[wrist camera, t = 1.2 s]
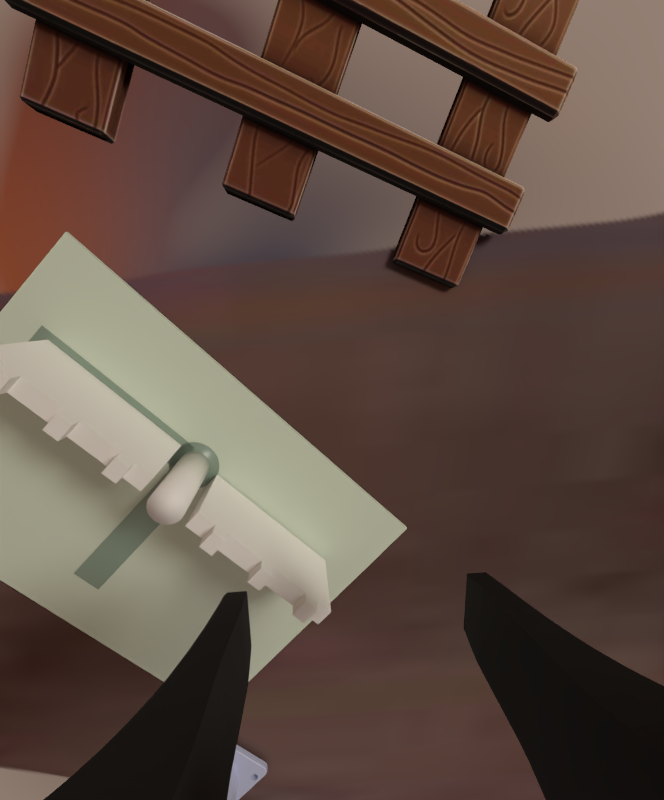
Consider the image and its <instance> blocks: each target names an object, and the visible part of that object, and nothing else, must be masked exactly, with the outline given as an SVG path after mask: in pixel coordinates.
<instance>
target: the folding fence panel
mask: <svg viewBox="0 0 664 800" xmlns="http://www.w3.org/2000/svg"><path fill="white" fill-rule="evenodd" d="M185 526H186V527H187V528H188V529H190V530H191V531H193V532H194V533H195V534H197V535H198V536H199V537H201V538H202V541H201V543H200V545H199V547H200V548H201V549H203V550H204V551H206V552H207V553H208V554H210V555H211V556H212V555H213V554H214V553H215V552H216V551H217V550H218V551H220V552H221V553H222V554H224V555H225V556H226V557H228V558H229V559H230V560H232V561H233V562H234V563H236V564H237V565H239V566H240V567H241V568H243V569H244V570H245V571H247V572H248V573H249V576H248V581H247V582H248V583H249V584H251V585H252V586H253V587H255V588H256V589H257V590H259V591H260V590H261V589H262V588H263V587H264V586H265V585H266V586H267V587H268V588H270V589H271V590H272V591H274V592H275V593H276V594H278V595H279V596H280V597H282V598H283V599H285V600H286V601H287V602H289V603H290V604H291V605H293V616H294V617H296V618H297V619H298V620H300V621H301V622H303V623H305V622H306V621H307V620H308V619H309V618H310V619H312V620H313V621H314V622H316V623H317V624H319V623H320V622H321V621H322V620H323V619H324V618H325V617H326V616H327V615H328V614H329V613H331V607H330V598H329V589H328V580H327V572H326V563H325V560H324V559H323V558H322V557H321V556H319V555H318V554H317V553H315V552H314V551H313V550H312V549H310V548H309V547H308V546H307V545H305V544H304V543H303V542H302V541H300V540H299V539H298V538H297V537H295V536H294V535H293V534H291V533H290V532H289V531H288V530H286V529H285V528H284V527H283V526H281V525H280V524H279V523H278V522H276V521H275V520H274V519H273V518H271V517H270V516H269V515H267V514H266V513H265V512H264V511H262V510H261V509H260V508H259V507H257V506H256V505H255V504H254V503H252V502H251V501H250V500H249V499H247V498H246V497H245V496H243V495H242V494H241V493H240V492H238V491H237V490H236V489H235V488H233V487H232V486H231V485H230V484H228V483H227V482H226V481H225V480H223V479H222V478H221V477H220V476H218V475H216V476H215V477H214V478H213V479H212V480H211V481H210V483H209V484H208V485H207V486H206V487H205V489H204V491H203V493H202V495H201V497H200V499H199V501H198V502H197V504H196V506H195V508H194V510H193V512H192V514H191V516H190V518H189V520H188V522H187V523H186V525H185Z"/></svg>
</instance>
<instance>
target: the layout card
mask: <svg viewBox="0 0 664 800" xmlns="http://www.w3.org/2000/svg"><path fill="white" fill-rule="evenodd" d="M39 340H49V341H51V342H52V343H53V344H54V345H56V346H57V347H58V348H59V349H61V350H62V351H63V352H64V353H66V354H67V355H68V356H69V357H71V358H72V359H73V360H74V361H76V362H77V363H78V364H80V365H81V366H82V367H83V368H85V369H86V370H87V371H88V372H90V373H91V374H92V375H93V376H95V377H96V378H97V379H98V380H100V381H101V382H102V383H104V384H105V385H106V386H107V387H109V388H110V389H111V390H112V391H114V392H115V393H116V394H117V395H119V396H120V397H121V398H122V399H124V400H125V401H126V402H127V403H129V404H130V405H131V406H133V407H134V408H135V409H136V410H138V411H139V412H140V413H141V414H143V415H144V416H145V417H146V418H148V419H149V420H150V421H151V422H153V423H154V424H155V425H156V426H158V427H159V428H160V429H162V430H163V431H164V432H165V433H167V434H168V435H169V436H170V437H172V438H173V439H174V440H175V441H177V442H178V443H179V444H180V445H182V446H181V447H180V448H179V449H178V450H177V451H176V452H175V454H174V455H173V456H172V457H171V458H170V459H169V460H168V462H167V463H166V464H165V465H164V466H163V467H162V469H161V470H160V471H159V472H158V473H157V474H156V475H155V477H154V478H153V479H152V480H151V481H150V482H149V483H148V484H147V485H146V486H145V487H144V489H143V490H142V491H139V490H138V489H137V488H135V487H134V486H133V485H131V484H130V483H129V482H127V481H126V480H125V479H123V478H121V479H120V480H119V481H118V482H117V483H116V484H115V483H114V482H113V481H111V480H110V479H108V478H107V477H106V476H104V475H103V474H102V472H103V471H104V469H105V468H106V467H107V466H106V465H104V464H103V463H102V462H100V461H99V460H98V459H96V458H95V457H94V456H92V455H91V454H89V453H88V452H87V451H85V450H84V449H83V448H81V447H80V446H79V445H77V444H76V443H75V442H73V441H72V440H71V439H69V438H68V437H65V438H63V439H62V440H60V441H57V440H55V439H54V438H53V437H51V436H50V435H48V434H47V433H46V432H44V431H43V428H44V427H45V426H46V425H47V424H48V422H46V421H45V420H44V419H42V418H41V417H40V416H38V415H37V414H35V413H34V412H33V411H31V410H30V409H29V408H27V407H26V406H25V405H23V404H22V403H21V402H19V401H18V400H17V399H15V398H14V397H13V396H11V395H10V394H8V393H4V394H0V580H1V581H3V582H4V583H6V584H7V585H9V586H11V587H12V588H14V589H15V590H17V591H19V592H20V593H22V594H23V595H25V596H27V597H28V598H30V599H31V600H33V601H35V602H36V603H38V604H40V605H41V606H43V607H44V608H46V609H48V610H49V611H51V612H52V613H54V614H56V615H57V616H59V617H60V618H62V619H64V620H65V621H67V622H68V623H70V624H72V625H73V626H75V627H76V628H78V629H80V630H81V631H83V632H84V633H86V634H88V635H89V636H91V637H92V638H94V639H96V640H97V641H99V642H100V643H102V644H104V645H105V646H107V647H108V648H110V649H112V650H113V651H115V652H117V653H118V654H120V655H121V656H123V657H125V658H126V659H128V660H129V661H131V662H133V663H134V664H136V665H137V666H139V667H141V668H142V669H144V670H145V671H147V672H149V673H150V674H152V675H153V676H155V677H157V678H158V679H160V680H161V681H163V682H164V681H165V680H166V679H167V678H168V677H169V675H170V674H171V673H172V671H173V670H174V669H175V667H176V666H177V665H178V664H179V662H180V661H181V660H182V658H183V657H184V656H185V654H186V653H187V652H188V650H189V649H190V647H191V646H192V645H193V643H194V642H195V640H196V639H197V637H198V636H199V634H200V633H201V632H202V630H203V629H204V627H205V626H206V624H207V622H208V621H209V619H210V618H211V616H212V615H213V613H214V611H215V610H216V608H217V607H218V605H219V603H220V601H221V600H222V598H223V596H224V595H225V594H226V593H228V592H240V591H247V597H248V609H249V621H250V634H251V646H252V647H251V659H250V670H249V680H248V682H249V681H250V680H251V679H252V678H253V677H254V676H255V675H256V674H257V673H258V672H259V671H260V670H261V669H262V668H263V667H264V666H265V665H266V664H267V663H268V662H270V661H271V660H272V659H273V658H274V657H275V656H276V655H277V654H278V653H279V652H280V651H281V650H282V649H283V648H284V647H285V646H286V645H287V644H288V643H289V642H290V641H291V640H292V639H293V638H294V637H295V636H296V635H297V634H298V633H300V632H301V631H302V630H303V629H304V628H305V627H306V626H307V625H308V624H309V623H310V622H311V621H312V619H310V618H309V619H308V620H307V621H306V622H305V623H303V622H301V621H300V620H298V619H297V618H296V617H294V616H293V605H291V604H290V603H289V602H287V601H286V600H285V599H283V598H282V597H280V596H279V595H278V594H276V593H275V592H274V591H272V590H271V589H270V588H268V587H267V586H266V585H265V586H264V587H263V588H262V589H261V590H260V591H259V590H257V589H256V588H255V587H253V586H252V585H251V584H249V583H248V582H247V581H248V576H249V573H248V572H247V571H245V570H244V569H243V568H241V567H240V566H239V565H237V564H236V563H234V562H233V561H232V560H230V559H229V558H228V557H226V556H225V555H224V554H222V553H221V552H220V551H218V550H217V551H216V552H215V553H214V554H213V555H212V556H211V555H210V554H208V553H207V552H206V551H204V550H203V549H201V548H200V547H199V545H200V543H201V541H202V538H201V537H199V536H198V535H197V534H195V533H194V532H193V531H191V530H190V529H188V528H187V527H186V526H185V525H186V523H187V522H188V520H189V518H190V516H191V514H192V512H193V510H194V508H195V506H196V504H197V502H198V501H199V499H200V497H201V495H202V493H203V491H204V489H205V487H206V486H207V485H208V484H209V483H210V481H211V480H212V479H213V478H214V477H215V476H216V475H218V476H220V477H221V478H222V479H223V480H225V481H226V482H227V483H228V484H230V485H231V486H232V487H233V488H235V489H236V490H237V491H238V492H240V493H241V494H242V495H243V496H245V497H246V498H247V499H249V500H250V501H251V502H252V503H254V504H255V505H256V506H257V507H259V508H260V509H261V510H262V511H264V512H265V513H266V514H267V515H269V516H270V517H271V518H273V519H274V520H275V521H276V522H278V523H279V524H280V525H281V526H283V527H284V528H285V529H286V530H288V531H289V532H290V533H291V534H293V535H294V536H295V537H297V538H298V539H299V540H300V541H302V542H303V543H304V544H305V545H307V546H308V547H309V548H310V549H312V550H313V551H314V552H315V553H317V554H318V555H319V556H321V557H322V558H323V559H324V560H325V563H326V572H327V580H328V589H329V598H330V603H331V602H332V601H333V600H334V599H335V598H336V597H337V596H338V595H339V594H340V593H341V592H342V591H343V590H344V589H345V588H346V587H347V586H348V585H349V584H350V583H351V582H352V581H353V580H354V579H355V578H356V577H357V576H358V575H360V574H361V573H362V572H363V571H364V570H365V569H366V568H367V567H368V566H369V565H370V564H371V563H372V562H373V561H374V560H375V559H376V558H377V557H378V556H379V555H380V554H381V553H382V552H383V551H384V550H385V549H386V548H387V547H388V546H389V545H391V544H392V543H393V542H394V541H395V540H396V539H397V538H398V537H399V536H400V535H401V534H402V533H403V532H404V531H405V530H406V529H407V527H406V526H405V525H404V524H403V523H401V522H400V521H399V520H398V519H397V518H396V517H395V516H393V515H392V514H391V513H390V512H389V511H388V510H387V509H385V508H384V507H383V506H382V505H381V504H380V503H379V502H377V501H376V500H375V499H374V498H373V497H372V496H370V495H369V494H368V493H367V492H366V491H365V490H364V489H362V488H361V487H360V486H359V485H358V484H357V483H356V482H354V481H353V480H352V479H351V478H350V477H349V476H348V475H346V474H345V473H344V472H343V471H342V470H341V469H339V468H338V467H337V466H336V465H335V464H334V463H333V462H331V461H330V460H329V459H328V458H327V457H326V456H325V455H323V454H322V453H321V452H320V451H319V450H318V449H317V448H315V447H314V446H313V445H312V444H311V443H310V442H308V441H307V440H306V439H305V438H304V437H303V436H302V435H300V434H299V433H298V432H297V431H296V430H295V429H294V428H292V427H291V426H290V425H289V424H288V423H287V422H285V421H284V420H283V419H282V418H281V417H280V416H279V415H277V414H276V413H275V412H274V411H273V410H272V409H271V408H269V407H268V406H267V405H266V404H265V403H264V402H263V401H261V400H260V399H259V398H258V397H257V396H256V395H254V394H253V393H252V392H251V391H250V390H249V389H248V388H246V387H245V386H244V385H243V384H242V383H241V382H240V381H238V380H237V379H236V378H235V377H234V376H233V375H232V374H230V373H229V372H228V371H227V370H226V369H225V368H223V367H222V366H221V365H220V364H219V363H218V362H217V361H215V360H214V359H213V358H212V357H211V356H210V355H209V354H207V353H206V352H205V351H204V350H203V349H202V348H201V347H199V346H198V345H197V344H196V343H195V342H194V341H192V340H191V339H190V338H189V337H188V336H187V335H186V334H184V333H183V332H182V331H181V330H180V329H179V328H178V327H176V326H175V325H174V324H173V323H172V322H171V321H170V320H168V319H167V318H166V317H165V316H164V315H163V314H161V313H160V312H159V311H158V310H157V309H156V308H155V307H153V306H152V305H151V304H150V303H149V302H148V301H147V300H145V299H144V298H143V297H142V296H141V295H140V294H139V293H137V292H136V291H135V290H134V289H133V288H132V287H130V286H129V285H128V284H127V283H126V282H125V281H124V280H122V279H121V278H120V277H119V276H118V275H116V274H115V273H114V272H113V271H112V270H111V269H110V268H109V267H107V266H106V265H105V264H104V263H103V262H102V261H100V260H99V259H98V258H97V257H96V256H95V255H94V254H92V253H91V252H90V251H89V250H88V249H87V248H86V247H85V246H83V245H82V244H81V243H80V242H79V241H78V240H76V239H75V238H74V237H73V236H72V235H71V234H69V233H68V232H65V233H64V235H63V236H62V237H61V238H60V239H59V241H58V242H57V243H56V244H55V246H54V247H53V248H52V249H51V251H50V252H49V253H48V254H47V256H46V257H45V258H44V259H43V261H42V262H41V263H40V264H39V265H38V267H37V268H36V269H35V270H34V271H33V273H32V274H31V275H30V276H29V278H28V279H27V280H26V281H25V283H24V284H23V285H22V286H21V287H20V289H19V290H18V291H17V292H16V294H15V295H14V296H13V297H12V298H11V300H10V301H9V302H8V303H7V305H6V306H5V307H4V308H3V309H2V311H1V312H0V345H2V344H12V343H21V342H30V341H39ZM192 451H195V452H199V453H202V454H203V455H205V456H206V457H207V459H208V461H209V464H210V468H209V471H208V473H207V475H206V477H205V479H204V480H203V482H202V484H201V486H200V488H199V489H198V491H197V493H196V495H195V497H194V498H193V500H192V502H191V504H190V506H189V507H188V509H187V511H186V513H185V514H184V516H183V518H182V519H181V520H180V521H178V522H176V523H174V524H170V525H164V524H160V523H157V522H155V521H154V520H153V519H152V518H151V517H150V516H149V515H148V513H147V509H146V504H147V500H148V499H149V497H150V496H151V495H152V493H153V492H154V491H155V490H156V488H157V487H158V486H159V485H160V483H161V482H162V481H163V480H164V478H165V477H166V476H167V475H168V473H169V472H170V471H171V470H172V468H173V467H174V466H175V465H176V463H177V462H178V461H179V460H180V458H181V457H182V456H183V455H184V454H186V453H188V452H192Z"/></svg>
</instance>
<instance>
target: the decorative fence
mask: <svg viewBox="0 0 664 800" xmlns="http://www.w3.org/2000/svg"><path fill="white" fill-rule="evenodd" d="M5 1H6V2H7V3H8V4H9V5H10V6H11V7H12V8H13V9H15V10H18V11H20V12H22V13H24V14H26V15H28V16H30V17H33V18H35V19H36V22H35V27H34V31H33V37H32V41H31V46H30V51H29V56H28V60H27V65H26V70H25V75H24V79H23V84H22V89H21V93H20V97H21V99H22V101H24V102H25V103H26V104H27V105H29V106H30V107H31V108H33V109H34V110H35V111H36V112H39V113H41V114H43V115H45V116H48V117H50V118H52V119H55V120H57V121H59V122H62V123H64V124H66V125H69V126H71V127H73V128H76V129H78V130H80V131H83V132H85V133H87V134H90V135H92V136H94V137H97V138H99V139H101V140H104V141H106V142H108V143H111V144H112V143H115V140H116V136H117V132H118V128H119V124H120V120H121V116H122V112H123V108H124V104H125V101H126V97H127V93H128V89H129V85H130V81H131V77H132V73H133V69H134V65H136V66H138V67H140V68H142V69H144V70H146V71H149V72H151V73H153V74H155V75H157V76H159V77H161V78H164V79H166V80H168V81H170V82H172V83H174V84H177V85H179V86H181V87H183V88H185V89H187V90H190V91H192V92H194V93H196V94H198V95H200V96H203V97H204V98H207V99H209V100H211V101H213V102H215V103H218V104H220V105H222V106H224V107H226V108H228V109H230V110H232V111H235V112H237V113H239V114H241V115H243V118H242V121H241V124H240V127H239V130H238V134H237V137H236V140H235V143H234V147H233V150H232V153H231V156H230V160H229V163H228V166H227V169H226V173H225V176H224V179H223V183H222V184H223V187H224V188H225V190H226V192H227V194H229V195H232V196H234V197H236V198H239V199H241V200H243V201H246V202H248V203H250V204H253V205H255V206H257V207H260V208H262V209H264V210H267V211H269V212H271V213H273V214H276V215H278V216H280V217H283V218H285V219H288V220H290V221H293V220H295V218H296V215H297V212H298V209H299V206H300V203H301V200H302V197H303V194H304V191H305V188H306V186H307V183H308V180H309V177H310V174H311V171H312V168H313V165H314V162H315V159H316V156H317V154H318V151H321V152H323V153H325V154H327V155H329V156H331V157H333V158H336V159H338V160H340V161H342V162H344V163H346V164H348V165H351V166H353V167H355V168H357V169H359V170H361V171H363V172H366V173H368V174H370V175H372V176H374V177H376V178H379V179H381V180H383V181H385V182H387V183H389V184H392V185H394V186H396V187H398V188H400V189H402V190H404V191H407V192H409V193H411V194H413V195H415V196H416V198H415V201H414V203H413V206H412V209H411V211H410V214H409V216H408V218H407V221H406V224H405V226H404V229H403V231H402V234H401V236H400V239H399V241H398V244H397V246H396V247H398V248H397V251H396V254H395V256H394V259H393V261H394V263H395V264H397V265H400V266H402V267H404V268H407V269H409V270H411V271H414V272H416V273H418V274H421V275H423V276H425V277H428V278H430V279H432V280H434V281H437V282H439V283H441V284H444V285H446V286H448V287H451V288H453V287H456V286H458V284H459V282H460V279H461V277H462V275H463V272H464V270H465V268H466V265H467V263H468V261H469V258H470V256H471V254H472V251H473V249H474V247H475V244H476V242H477V240H478V237H479V235H480V233H481V230H482V228H483V227H484V228H486V229H488V230H490V231H492V232H495V233H497V234H499V235H500V234H502V233H504V232H506V231H508V230H509V227H510V225H511V223H512V221H513V218H514V216H515V214H516V212H517V209H518V207H519V205H520V202H521V200H522V198H523V196H524V193H525V192H524V187H522V186H520V185H518V184H516V183H514V182H512V181H510V180H508V179H506V178H504V176H505V174H506V172H507V169H508V167H509V165H510V162H511V160H512V158H513V155H514V153H515V151H516V148H517V146H518V144H519V141H520V139H521V137H522V134H523V132H524V130H525V127H526V125H527V123H528V120H529V118H530V116H531V113H532V114H534V115H536V116H538V117H540V118H542V119H544V120H545V121H547V122H550V121H551V120H553V119H554V118H556V117H557V116H558V115H559V114H560V111H561V109H562V107H563V105H564V102H565V100H566V98H567V95H568V93H569V91H570V89H571V86H572V84H573V82H574V79H575V77H576V75H577V68H576V67H575V66H573V65H571V64H570V63H568V62H566V61H564V60H562V59H561V58H559V57H557V56H556V55H557V52H558V50H559V48H560V45H561V43H562V41H563V38H564V36H565V34H566V32H567V29H568V27H569V25H570V22H571V20H572V17H573V15H574V13H575V11H576V8H577V6H578V4H579V0H493V2H492V5H491V7H490V10H489V12H488V15H487V17H486V16H485V15H483V14H481V13H479V12H477V11H476V10H474V9H472V8H470V7H469V6H467V5H465V4H463V3H462V2H459V1H458V0H278V3H277V6H276V9H275V13H274V16H273V19H272V23H271V26H270V29H269V32H268V36H267V39H266V42H265V46H264V49H263V52H262V55H261V57H259V56H256V55H255V54H253V53H250V52H248V51H246V50H244V49H242V48H240V47H238V46H236V45H234V44H232V43H230V42H228V41H226V40H224V39H222V38H220V37H218V36H216V35H214V34H212V33H210V32H208V31H206V30H204V29H202V28H199V27H198V26H196V25H194V24H192V23H190V22H188V21H186V20H183V19H182V18H179V17H177V16H175V15H173V14H171V13H169V12H167V11H165V10H163V9H161V8H159V7H157V6H155V5H153V4H151V0H5ZM362 23H363V24H365V25H366V26H368V27H370V28H372V29H374V30H376V31H378V32H379V33H381V34H383V35H385V36H387V37H389V38H391V39H393V40H395V41H396V42H398V43H400V44H402V45H404V46H406V47H408V48H410V49H412V50H413V51H415V52H417V53H419V54H421V55H423V56H425V57H427V58H429V59H431V60H433V61H434V62H436V63H438V64H440V65H442V66H444V67H445V68H447V69H449V70H451V71H453V72H455V73H457V74H459V75H461V76H463V78H462V81H461V83H460V86H459V89H458V91H457V94H456V96H455V99H454V101H453V104H452V107H451V109H450V112H449V114H448V117H447V119H446V122H445V124H444V127H443V129H442V132H441V134H440V137H439V140H438V142H437V144H435V143H433V142H431V141H429V140H427V139H425V138H423V137H421V136H418V135H417V134H415V133H413V132H411V131H409V130H407V129H404V128H403V127H400V126H399V125H396V124H394V123H392V122H390V121H388V120H386V119H384V118H382V117H380V116H378V115H376V114H374V113H372V112H370V111H368V110H366V109H364V108H362V107H360V106H358V105H356V104H354V103H352V102H350V101H348V100H346V99H344V98H342V97H340V96H338V92H339V89H340V87H341V83H342V81H343V77H344V75H345V72H346V69H347V66H348V63H349V60H350V57H351V54H352V51H353V49H354V46H355V43H356V40H357V37H358V34H359V31H360V28H361V25H362Z"/></svg>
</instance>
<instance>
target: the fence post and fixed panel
mask: <svg viewBox="0 0 664 800" xmlns="http://www.w3.org/2000/svg"><path fill="white" fill-rule="evenodd" d="M4 393H8V394H10V395H11V396H13V397H14V398H15V399H17V400H18V401H19V402H21V403H22V404H23V405H25V406H26V407H27V408H29V409H30V410H31V411H33V412H34V413H35V414H37V415H38V416H40V417H41V418H42V419H44V420H45V421H46V422H48V424H47V425H46V426H45V427H44V428H43V431H44V432H46V433H47V434H48V435H50V436H51V437H53V438H54V439H55V440H57V441H60V440H62V439H63V438H65V437H68V438H69V439H71V440H72V441H73V442H75V443H76V444H77V445H79V446H80V447H81V448H83V449H84V450H85V451H87V452H88V453H89V454H91V455H92V456H94V457H95V458H96V459H98V460H99V461H100V462H102V463H103V464H104V465H106V466H107V467H106V468H105V469H104V471H103V472H102V474H103V475H104V476H106V477H107V478H108V479H110V480H111V481H113V482H114V483H115V484H116V483H117V482H118V481H119V480H120V479H121V478H123V479H125V480H126V481H127V482H129V483H130V484H131V485H133V486H134V487H135V488H137V489H138V490H139V491H142V490H143V489H144V487H145V486H146V485H147V484H148V483H149V482H150V481H151V480H152V479H153V478H154V477H155V475H156V474H157V473H158V472H159V471H160V470H161V469H162V467H163V466H164V465H165V464H166V463H167V462H168V460H169V459H170V458H171V457H172V456H173V455H174V454H175V452H176V451H177V450H178V449H179V448H180V447H181V446H182V445H180V444H179V443H178V442H177V441H175V440H174V439H173V438H172V437H170V436H169V435H168V434H167V433H165V432H164V431H163V430H162V429H160V428H159V427H158V426H156V425H155V424H154V423H153V422H151V421H150V420H149V419H148V418H146V417H145V416H144V415H143V414H141V413H140V412H139V411H138V410H136V409H135V408H134V407H133V406H131V405H130V404H129V403H127V402H126V401H125V400H124V399H122V398H121V397H120V396H119V395H117V394H116V393H115V392H114V391H112V390H111V389H110V388H109V387H107V386H106V385H105V384H104V383H102V382H101V381H100V380H98V379H97V378H96V377H95V376H93V375H92V374H91V373H90V372H88V371H87V370H86V369H85V368H83V367H82V366H81V365H80V364H78V363H77V362H76V361H74V360H73V359H72V358H71V357H69V356H68V355H67V354H66V353H64V352H63V351H62V350H61V349H59V348H58V347H57V346H56V345H54V344H53V343H52V342H51V341H49V340H39V341H30V342H21V343H12V344H2V345H0V394H4ZM209 468H210V464H209V461H208V459H207V457H206V456H205V455H203V454H202V453H199V452H195V451H192V452H188V453H186V454H184V455H183V456H182V457H181V458H180V460H179V461H178V462H177V463H176V465H175V466H174V467H173V468H172V470H171V471H170V472H169V473H168V475H167V476H166V477H165V478H164V480H163V481H162V482H161V483H160V485H159V486H158V487H157V488H156V490H155V491H154V492H153V493H152V495H151V496H150V497H149V499H148V500H147V504H146V509H147V513H148V515H149V516H150V517H151V518H152V519H153V520H154V521H155V522H157V523H160V524H164V525H170V524H174V523H176V522H178V521H180V520H181V519H182V518H183V516H184V514H185V513H186V511H187V509H188V507H189V506H190V504H191V502H192V500H193V498H194V497H195V495H196V493H197V491H198V489H199V488H200V486H201V484H202V482H203V480H204V479H205V477H206V475H207V473H208V471H209Z"/></svg>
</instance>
